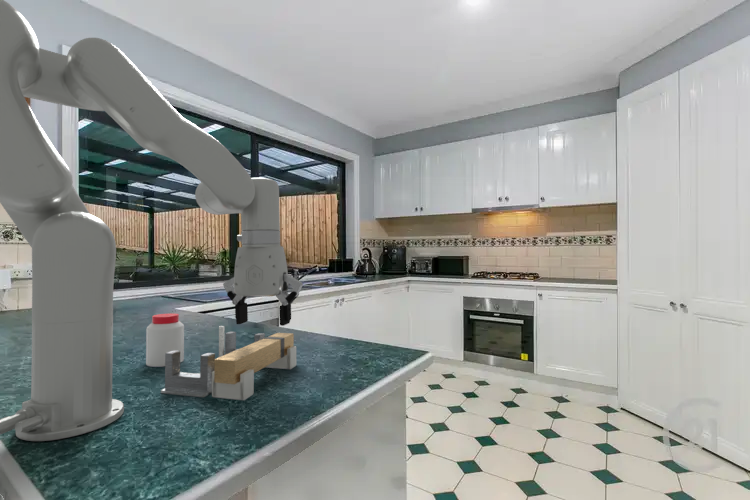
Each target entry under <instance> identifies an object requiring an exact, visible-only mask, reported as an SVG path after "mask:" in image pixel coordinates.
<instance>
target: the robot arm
mask: <svg viewBox="0 0 750 500" xmlns="http://www.w3.org/2000/svg"><path fill="white" fill-rule="evenodd" d="M26 98H29V99H34V100H37V101H42V102H46V103H52V104H57V105H61V106H66V107H71V108H77V109H81V110H87V111H95V112H105V113H106V114H107V115H108V116H109V117H110V118H112V119H113V120H114V122H115V123H116V124H117V125H118V126H120V127H121V128H122V130H124V131H125V132H126V133H127V134H128V135H129V137H131V138H132V139H133V141H135V143H136V144H138V145H139V146H140V147H142V148H143V149H144V150H147V151H149V152H151V153H154V154H157V155H161V156H163V157H167V158H168V159H171V160H173V161H174V162H176V163H178V164H180V165H181V166H183V168H185V169H186V170H187V171H189V172H190V174H191V173H192V174H193V176H195V177H196V178H197V180H199V181H200V182H199V183H198V185H197V186H196V189H195V193H194V195H195V196H194V198H195V201H196V203H197V205H198V207H200V209H201V210H203V211H204V212H206V213H209V214H211V215H217V216H218V215H219V216H220V215H222V216H223V215H231V214H232V215H233V214H240V217H241V218H240V219H241V221H240V223H241V225H240V226H241V228H240V229H241V231H240V234H237V235H236V240H237V241H238V242H241V247H237V251H236V256H235V261H234V262H235V263H234V273H233V277H231V278H230V279H228V280H226V281H225V282H223V284H222V285H223V289H224V290H225V292H226V294H227V295H226V296H227V297H228V298H229V299H230V300H231V303H232V305H233V306H234V308H235V309H234V311H235V312H234V313H235V315H234V317H235V323H236V325H241V324H244V323H247V322H248V321H249V314H248V312H249V311H248V303H247V302H246V300H247V299H248V298H249V297H262V298H263V297H264V298H265V297H266V298H267V297H270V298H271V297H276V298H277V299H278V300H279V302H280V303H281V305H279V308H278V309H279V310H278V311H279V313H278V314H279V326H281V327H282V326H283V327H284V326H286V325H288V324H290V322H291V320H292V304H293V303H294V301H295V300H296V299H297V298H298V296H299V295H300V292H301V290H302V288H303V286H304V284H303V282H302V281H300V279H299V280H298V279H297V278H295V277H294V276H292V275H289V273H288V271H289V270H288V264H287V257H286V253H285V249H284V246H283V245H282V246H281V221H280V220H281V219H280V216H281V215H280V186H279V183H278V182H277V181H275V180H273V179H271V178H266V177H251V175H250V174H249V172H248V171H247V170H246V169H245V167H244V166H243V164H241V162H240V161H239V160H238V159H237V158H236V157H235V156H234V155H233V154H232V153H231V152H230V151H229V149H228V148H227V147H226V146H225V145H223V144H222V143H221V142H220V141H219V140H218V139H216V138H215V137H213V136H212V135H211V134H209V133H208V132H206V131H205V130H203V129H202V128H201V127H199V126H197V124H195V123H193V122H191V121H190V120H188V119H186V118H185V117H183V116H182V115H181V114H180V113H179V112H178V111H177V109H176V108H174V107H173V106H172V105H171V104H170V102H169V101H168V99H166V98H165V97H164V96H163V95H162V94H161V93H160V91H159V89H157V88H156V87H155V86H154V85H153V84H152V82H151V81H150V80H148V78H147V77H146V76H145V75H144V74H143V72H141V71H140V70H139V69H138V67H137V66H136V65H135V64H134V63H133V62H132V61H131V60H130V59H129V58H128V57H127V55H126V54H125V53H124V52H123V51H122V50H120V48H118V47H117V46H116V45H115V44H113V43H111V42H110V41H108V40H106V39H102V38H99V37H86V38H83V39H80V40H79V41H77V42H75V43H74V44H73V45H72V46H71V47H70V49H69V50H68V52H67V54H62V53H59V52H56V51H55V52H54V51H51V50H47V49H44V48H41V47H40V45H39V41H38V38H37V35H36V33H35V31H34V29H33V28H32V26H31V25H30V23H29V21H28V20H27V19H26V18H25V17H24V15H23V14H22V13H21V12H20V11H19V10H18V9H17V8H15V6H13V5H12V4H11V3H9V2H8V1H6V0H0V204H1V206H2V207H3V209H4V210H5V212H6V213H7V215H8V217H9V218H10V219H11V220H12V222H13V224H14V226H16V228H17V229H18V230H19V232H20V234H21V235H22V236H23V238H24V239H25V240H26V242H27V243H28V244H29V246H30V248H31V285H32V286H31V289H32V290H31V324H32V325H31V372H30V373H31V381H30V382H31V385H30V387H31V388H30V399H28V400H26V401H23V402H21V408H20V409H19V410H17V411H16V412H15V414H12V415H10V416H5V417H2V418H0V435H3V434H5V433H7V432H11V431H13V430H15V436H16V437H17V438H18V439H20V440H23V441H28V442H29V441H30V442H45V441H46V442H49V441H56V440H63V439H67V438H73V437H76V436H80V435H83V434H87V433H91V432H93V431H96V430H99V429H101V428H103V427H105V426H108V425H110V424H111V423H113V422H116V421H117V420H118V419H119V418H120V417H122V415H123V414H124V411H125V405H124V403H123V402H122V401H120V400H119V399H114V398H113V355H114V354H113V352H114V351H113V350H114V349H113V348H114V347H113V344H114V342H113V341H114V339H113V338H114V335H113V334H114V282H115V269H116V260H117V259H116V258H117V243H116V239H115V237H114V234H113V231H112V230H111V228H110V226H109V225H107V223H105V222H104V221H103V220H102V219H101V218H99V217H97V216H95V215H93V214H91V213H90V212H89V211H90V210H88V208H87V207H86V205H85V203H84V202H83V200H82V199H81V197H80V195H79V194H78V192H77V190H76V188H75V187H74V185H73V175H72V172H71V169H70V168H69V166H68V165H67V163H66V161H65V160H64V159H63V157H62V156H61V154H59V152H58V150H57V149H56V148H55V146H54V144H53V143H52V141H51V140H50V139H49V137H48V135H47V134H46V132H45V131H44V129H43V127H42V126H41V124H40V123H39V121H38V119H37V118H36V115H35V114H34V112H33V110H32V108H31V106H30V105H29V103H28V102H27V100H26ZM289 285H290V286H292V290H291V292H288V290H289Z"/></svg>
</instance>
